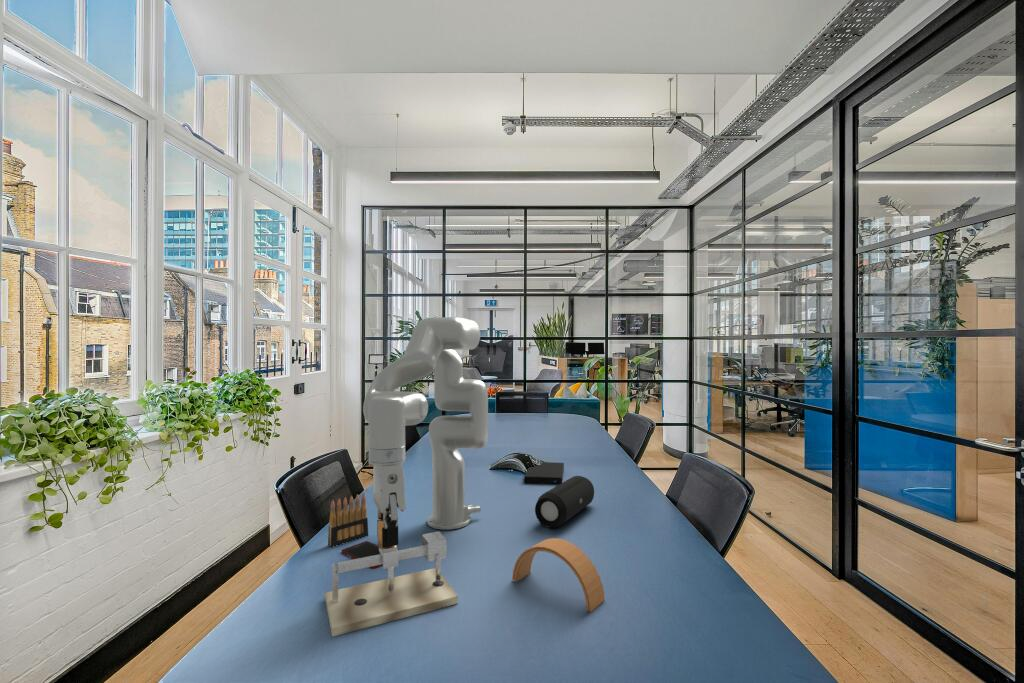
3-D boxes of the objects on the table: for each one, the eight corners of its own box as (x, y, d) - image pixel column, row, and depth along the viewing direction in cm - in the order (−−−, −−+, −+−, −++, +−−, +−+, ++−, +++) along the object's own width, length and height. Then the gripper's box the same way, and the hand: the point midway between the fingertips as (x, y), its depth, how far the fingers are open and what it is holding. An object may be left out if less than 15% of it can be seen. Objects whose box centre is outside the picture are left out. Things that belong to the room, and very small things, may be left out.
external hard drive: (563, 469, 202) (563, 462, 202) (561, 485, 179) (561, 477, 179) (530, 468, 204) (530, 461, 204) (524, 484, 181) (524, 476, 181)
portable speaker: (563, 533, 132) (562, 497, 133) (532, 527, 138) (531, 492, 138) (596, 506, 154) (596, 476, 154) (569, 501, 159) (568, 472, 160)
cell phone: (372, 571, 112) (372, 567, 112) (340, 553, 121) (340, 550, 121) (400, 559, 118) (400, 555, 118) (366, 544, 127) (366, 540, 127)
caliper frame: (439, 571, 107) (439, 531, 107) (448, 582, 102) (447, 540, 102) (331, 595, 97) (330, 551, 97) (334, 610, 92) (334, 563, 92)
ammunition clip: (331, 547, 124) (330, 501, 124) (327, 545, 126) (327, 500, 126) (368, 535, 132) (368, 492, 132) (365, 534, 133) (364, 491, 133)
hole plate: (436, 574, 109) (436, 567, 109) (457, 603, 97) (457, 595, 97) (325, 599, 98) (325, 592, 98) (332, 636, 86) (332, 627, 86)
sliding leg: (395, 580, 102) (395, 516, 103) (401, 591, 98) (401, 524, 98) (376, 584, 101) (376, 519, 101) (381, 596, 96) (381, 528, 96)
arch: (528, 571, 110) (527, 528, 110) (604, 600, 97) (604, 551, 98) (512, 581, 106) (511, 536, 106) (590, 613, 93) (589, 561, 93)
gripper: (415, 461, 94) (416, 553, 94) (395, 445, 109) (396, 525, 109) (376, 465, 91) (377, 561, 91) (362, 449, 106) (362, 531, 106)
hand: (387, 541), depth 100 cm, fingers closed on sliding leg, 4 cm apart
